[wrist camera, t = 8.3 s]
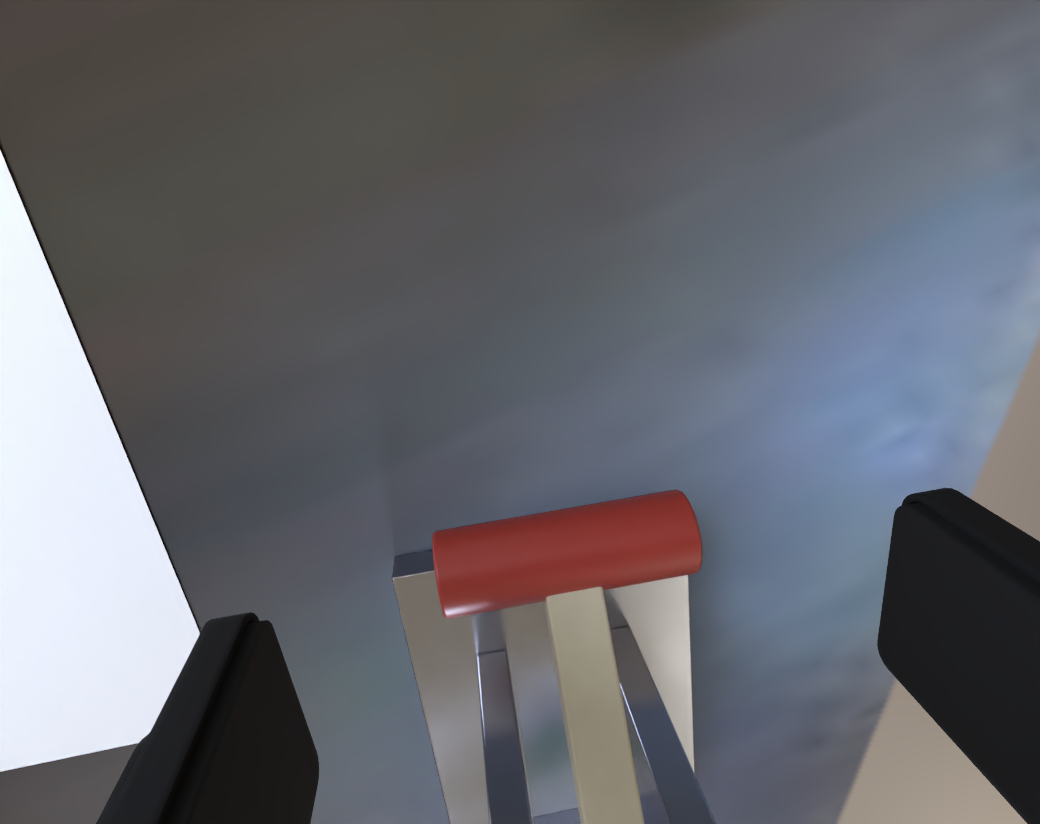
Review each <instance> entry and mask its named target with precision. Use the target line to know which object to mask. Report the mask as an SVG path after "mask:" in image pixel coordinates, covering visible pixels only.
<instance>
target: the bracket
mask: <svg viewBox="0 0 1040 824" xmlns="http://www.w3.org/2000/svg"><path fill="white" fill-rule="evenodd" d="M392 582H393V586H394V590H395V594H396V598H397V603H398V607H399V611H400V615H401V620H402V624H403V628H404V632H405V636H406V641H407V645H408V649H409V653H410V658H411V662H412V666H413V670H414V674H415V679H416V683H417V687H418V691H419V695H420V700H421V704H422V708H423V712H424V717H425V721H426V725H427V729H428V733H429V738H430V742H431V746H432V750H433V755H434V759H435V763H436V767H437V771H438V776H439V780H440V784H441V788H442V793H443V797H444V801H445V805H446V809H447V814H448V818H449V822H450V824H535V821H534V817H537V816H542V815H547V814H551V813H556V812H561V811H566V810H570V809H575V808H578V804H577V798H576V792H575V786H574V780H573V774H572V768H571V762H570V756H569V750H568V744H567V738H566V732H565V726H564V720H563V714H562V708H561V702H560V696H559V690H558V684H557V678H556V672H555V666H554V660H553V654H552V648H551V642H550V636H549V630H548V624H547V618H546V612H545V607H544V601H543V602H538V603H532V604H527V605H522V606H516V607H511V608H505V609H500V610H494V611H489V612H484V613H478V614H473V615H467V616H462V617H456V618H451V619H447V618H445V616H444V615H443V612H442V609H441V605H440V601H439V596H438V590H437V584H436V578H435V570H434V561H433V550H429V551H423V552H417V553H411V554H406V555H400V556H396V557H395V558H394V566H393V574H392ZM603 592H604V598H605V604H606V609H607V615H608V621H609V626H610V632H611V638H612V643H613V649H614V654H615V660H616V666H617V671H618V677H619V683H620V688H621V694H622V700H623V705H624V711H625V716H626V722H627V728H628V733H629V739H630V745H631V750H632V756H633V762H634V767H635V773H636V778H637V784H638V790H639V795H640V801H641V807H642V812H643V818H644V824H716V822H715V820H714V817H713V815H712V813H711V810H710V808H709V806H708V804H707V801H706V799H705V797H704V794H703V792H702V790H701V788H700V785H699V783H698V781H697V778H696V776H695V766H694V735H693V703H692V672H691V640H690V609H689V577H688V575H685V576H679V577H674V578H668V579H663V580H657V581H652V582H647V583H641V584H636V585H630V586H625V587H619V588H614V589H609V590H603Z"/></svg>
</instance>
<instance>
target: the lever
mask: <svg viewBox="0 0 1040 824" xmlns="http://www.w3.org/2000/svg"><path fill="white" fill-rule="evenodd" d="M432 548H433V561H434V570H435V578H436V584H437V590H438V596H439V601H440V605H441V609H442V612H443V615H444V616H445V618H447V619H451V618H456V617H462V616H467V615H473V614H478V613H484V612H489V611H494V610H500V609H505V608H511V607H516V606H522V605H527V604H532V603H538V602H543V601H544V607H545V612H546V618H547V624H548V630H549V636H550V642H551V648H552V654H553V660H554V666H555V672H556V678H557V684H558V690H559V696H560V702H561V708H562V714H563V720H564V726H565V732H566V738H567V744H568V750H569V756H570V762H571V768H572V774H573V780H574V786H575V792H576V798H577V804H578V810H579V816H580V822H581V824H644V818H643V812H642V807H641V801H640V795H639V790H638V784H637V778H636V773H635V767H634V762H633V756H632V750H631V745H630V739H629V733H628V728H627V722H626V716H625V711H624V705H623V700H622V694H621V688H620V683H619V677H618V671H617V666H616V660H615V654H614V649H613V643H612V638H611V632H610V626H609V621H608V615H607V609H606V604H605V598H604V592H603V590H609V589H614V588H619V587H625V586H630V585H636V584H641V583H647V582H652V581H657V580H663V579H668V578H674V577H679V576H685V575H690V574H695V573H697V572H698V571H699V570H700V568H701V564H702V542H701V536H700V531H699V526H698V523H697V519H696V516H695V513H694V511H693V509H692V506H691V504H690V502H689V501H688V499H687V497H686V496H685V495H684V493H683V492H681V491H679V490H670V491H664V492H658V493H653V494H647V495H641V496H635V497H630V498H624V499H618V500H612V501H607V502H601V503H595V504H589V505H583V506H578V507H572V508H566V509H560V510H555V511H549V512H543V513H537V514H532V515H526V516H520V517H514V518H509V519H503V520H497V521H491V522H485V523H480V524H474V525H468V526H462V527H457V528H451V529H445V530H439V531H436V532H434V534H433V539H432Z"/></svg>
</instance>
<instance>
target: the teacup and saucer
mask: <svg viewBox="0 0 1040 824" xmlns="http://www.w3.org/2000/svg"><path fill="white" fill-rule="evenodd" d="M199 635H200V632H199V630H198V627H197V625H196V622H195V620H194V617H193V615H192V613H191V610H190V608H189V605H188V603H187V601H186V598H185V596H184V593H183V591H182V588H181V586H180V584H179V581H178V579H177V576H176V574H175V571H174V569H173V567H172V564H171V562H170V559H169V557H168V555H167V552H166V550H165V547H164V545H163V542H162V540H161V538H160V535H159V533H158V530H157V528H156V526H155V523H154V521H153V518H152V516H151V513H150V511H149V509H148V506H147V504H146V501H145V499H144V496H143V494H142V492H141V489H140V487H139V484H138V482H137V480H136V477H135V475H134V472H133V470H132V467H131V465H130V463H129V460H128V458H127V455H126V453H125V450H124V448H123V446H122V443H121V441H120V438H119V436H118V434H117V431H116V429H115V426H114V424H113V421H112V419H111V417H110V414H109V412H108V409H107V407H106V405H105V402H104V400H103V397H102V395H101V392H100V390H99V388H98V385H97V383H96V380H95V378H94V375H93V373H92V371H91V368H90V366H89V363H88V361H87V359H86V356H85V354H84V351H83V349H82V346H81V344H80V342H79V339H78V337H77V334H76V332H75V330H74V327H73V325H72V322H71V320H70V317H69V315H68V313H67V310H66V308H65V305H64V303H63V300H62V298H61V296H60V293H59V291H58V288H57V286H56V284H55V281H54V279H53V276H52V274H51V271H50V269H49V267H48V264H47V262H46V259H45V257H44V255H43V252H42V250H41V247H40V245H39V242H38V240H37V238H36V235H35V233H34V230H33V228H32V225H31V223H30V221H29V218H28V216H27V213H26V211H25V209H24V206H23V204H22V201H21V199H20V196H19V194H18V192H17V189H16V187H15V184H14V182H13V179H12V177H11V175H10V172H9V170H8V167H7V165H6V163H5V160H4V158H3V155H2V153H1V150H0V772H1V771H6V770H11V769H15V768H20V767H25V766H30V765H35V764H39V763H44V762H49V761H54V760H59V759H63V758H68V757H73V756H78V755H83V754H87V753H92V752H97V751H102V750H107V749H111V748H116V747H121V746H126V745H131V744H135V743H140V741H141V740H142V739H143V738H144V737H145V736H147V735H148V734H149V733H150V732H151V730H152V728H153V726H154V724H155V722H156V720H157V718H158V716H159V714H160V712H161V710H162V708H163V706H164V704H165V702H166V700H167V698H168V696H169V694H170V692H171V690H172V688H173V686H174V684H175V682H176V680H177V678H178V676H179V674H180V672H181V670H182V668H183V666H184V664H185V662H186V661H187V659H188V657H189V655H190V653H191V651H192V649H193V647H194V645H195V643H196V641H197V639H198V637H199Z"/></svg>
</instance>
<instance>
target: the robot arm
mask: <svg viewBox="0 0 1040 824" xmlns="http://www.w3.org/2000/svg"><path fill="white" fill-rule="evenodd" d="M878 651H879V654H880V657H881V659H882V661H883V663H884V664H885V666H886V667H887V668H888V670H889V671H890V672H891V673H892V674H893V675H894V676H895V677H896V678H897V680H898V681H899V682H900V683H901V684H902V685H903V686H904V687H905V688H906V689H907V691H908V692H909V693H910V694H911V695H912V696H913V697H914V698H915V699H916V700H917V702H918V703H919V704H920V705H921V706H922V707H923V708H924V709H925V711H926V712H927V713H928V714H929V715H930V716H931V717H932V718H933V719H934V720H935V722H936V723H937V724H938V725H939V726H940V727H941V728H942V729H943V730H944V732H945V733H946V734H947V735H948V736H949V737H950V738H951V739H952V740H953V742H954V743H955V744H956V745H957V746H958V747H959V748H960V749H961V750H962V751H963V753H964V754H965V755H966V756H967V757H968V758H969V759H970V760H971V761H972V763H973V764H974V765H975V766H976V767H977V768H978V769H979V770H980V771H981V773H982V774H983V775H984V776H985V777H986V778H987V779H988V780H989V781H990V783H991V784H992V785H993V786H994V787H995V788H996V789H997V790H998V791H999V792H1000V794H1001V795H1002V796H1003V797H1004V798H1005V799H1006V800H1007V801H1008V802H1009V804H1010V805H1011V806H1012V807H1013V808H1014V809H1015V810H1016V811H1017V812H1018V814H1019V815H1020V816H1021V817H1022V818H1023V819H1024V820H1025V821H1026V822H1027V824H1040V542H1039V541H1038V540H1036V539H1035V538H1033V537H1031V536H1030V535H1028V534H1027V533H1025V532H1023V531H1022V530H1020V529H1018V528H1017V527H1015V526H1014V525H1012V524H1010V523H1009V522H1007V521H1005V520H1004V519H1002V518H1001V517H999V516H997V515H996V514H994V513H992V512H991V511H989V510H988V509H986V508H984V507H983V506H981V505H980V504H978V503H976V502H975V501H973V500H972V499H970V498H968V497H967V496H965V495H963V494H962V493H960V492H959V491H956V490H954V489H952V488H942V489H937V490H931V491H926V492H920V493H914V494H911V495H908V496H907V497H906V498H905V499H904V501H903V503H902V506H900V507H898V508H897V510H896V511H895V514H894V521H893V528H892V536H891V543H890V551H889V558H888V566H887V573H886V581H885V588H884V596H883V604H882V611H881V619H880V626H879V634H878ZM318 779H319V762H318V755H317V751H316V749H315V746H314V743H313V740H312V737H311V734H310V731H309V728H308V726H307V723H306V720H305V717H304V714H303V711H302V708H301V706H300V703H299V700H298V697H297V694H296V691H295V688H294V685H293V683H292V680H291V677H290V674H289V671H288V668H287V665H286V663H285V660H284V657H283V654H282V651H281V648H280V645H279V642H278V640H277V637H276V634H275V631H274V628H273V626H272V624H271V623H270V622H269V621H267V620H265V621H259V619H258V617H257V616H256V615H255V614H254V613H251V612H250V613H244V614H239V615H233V616H228V617H222V618H216V619H211V620H209V621H208V622H207V623H206V624H205V626H204V627H203V629H202V631H201V633H200V635H199V637H198V639H197V641H196V643H195V645H194V647H193V649H192V651H191V653H190V655H189V657H188V659H187V661H186V662H185V664H184V666H183V668H182V670H181V672H180V674H179V676H178V678H177V680H176V682H175V684H174V686H173V688H172V690H171V692H170V694H169V696H168V698H167V700H166V702H165V704H164V706H163V708H162V710H161V712H160V714H159V716H158V718H157V720H156V722H155V724H154V726H153V728H152V730H151V732H150V733H149V734H148V735H147V736H145V737H144V738H143V739H142V740H141V741H140V743H139V744H138V746H137V747H136V749H135V750H134V752H133V754H132V755H131V757H130V759H129V761H128V763H127V765H126V767H125V769H124V771H123V773H122V775H121V777H120V779H119V781H118V782H117V784H116V786H115V788H114V790H113V792H112V794H111V796H110V798H109V800H108V802H107V804H106V806H105V808H104V810H103V811H102V813H101V815H100V817H99V819H98V821H97V823H96V824H310V822H311V817H312V811H313V806H314V801H315V796H316V791H317V785H318Z"/></svg>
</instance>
